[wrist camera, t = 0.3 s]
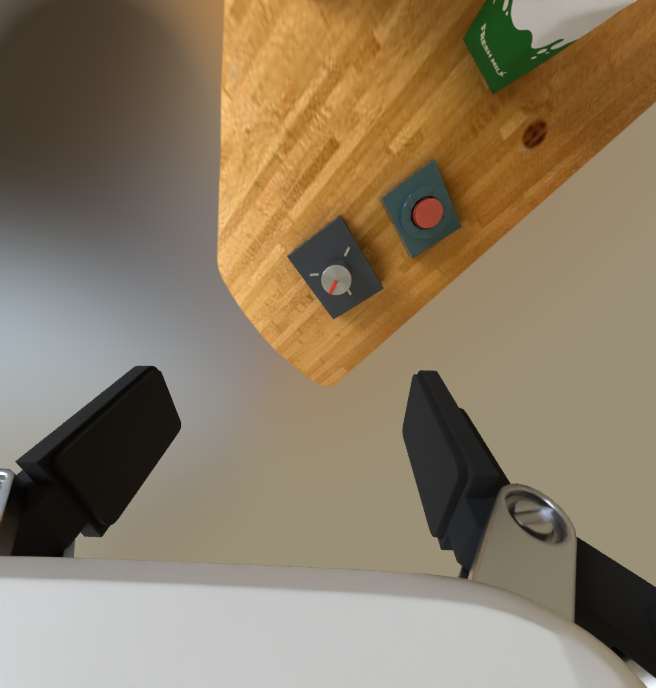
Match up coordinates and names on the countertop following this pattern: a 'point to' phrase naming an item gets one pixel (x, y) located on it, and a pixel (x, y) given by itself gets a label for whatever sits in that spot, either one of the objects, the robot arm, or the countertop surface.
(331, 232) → the plate
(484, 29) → the milk carton
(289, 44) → the countertop surface
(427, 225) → the button
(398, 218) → the teal button housing
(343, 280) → the rotary knob
